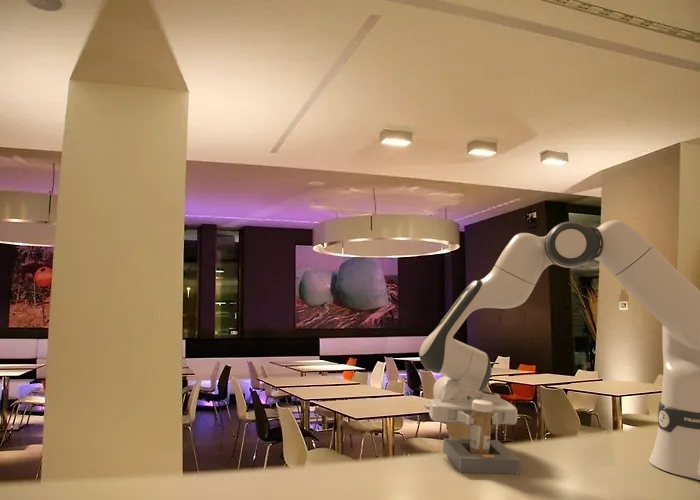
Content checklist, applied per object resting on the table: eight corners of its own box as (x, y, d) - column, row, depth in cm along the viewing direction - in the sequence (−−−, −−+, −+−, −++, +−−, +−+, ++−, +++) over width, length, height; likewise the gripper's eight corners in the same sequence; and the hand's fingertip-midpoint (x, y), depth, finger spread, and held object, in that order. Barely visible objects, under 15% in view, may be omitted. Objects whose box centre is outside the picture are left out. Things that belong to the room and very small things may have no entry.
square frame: (496, 452, 141) (497, 439, 141) (519, 474, 128) (520, 459, 128) (442, 451, 139) (443, 437, 139) (459, 472, 126) (461, 457, 126)
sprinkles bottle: (491, 465, 132) (496, 404, 132) (471, 465, 131) (476, 403, 131) (484, 458, 136) (489, 399, 136) (465, 457, 136) (469, 398, 136)
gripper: (423, 390, 145) (438, 405, 131) (504, 394, 148) (528, 409, 134) (421, 416, 145) (436, 434, 131) (502, 419, 148) (526, 437, 134)
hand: (483, 421), depth 133 cm, fingers closed on sprinkles bottle, 4 cm apart
